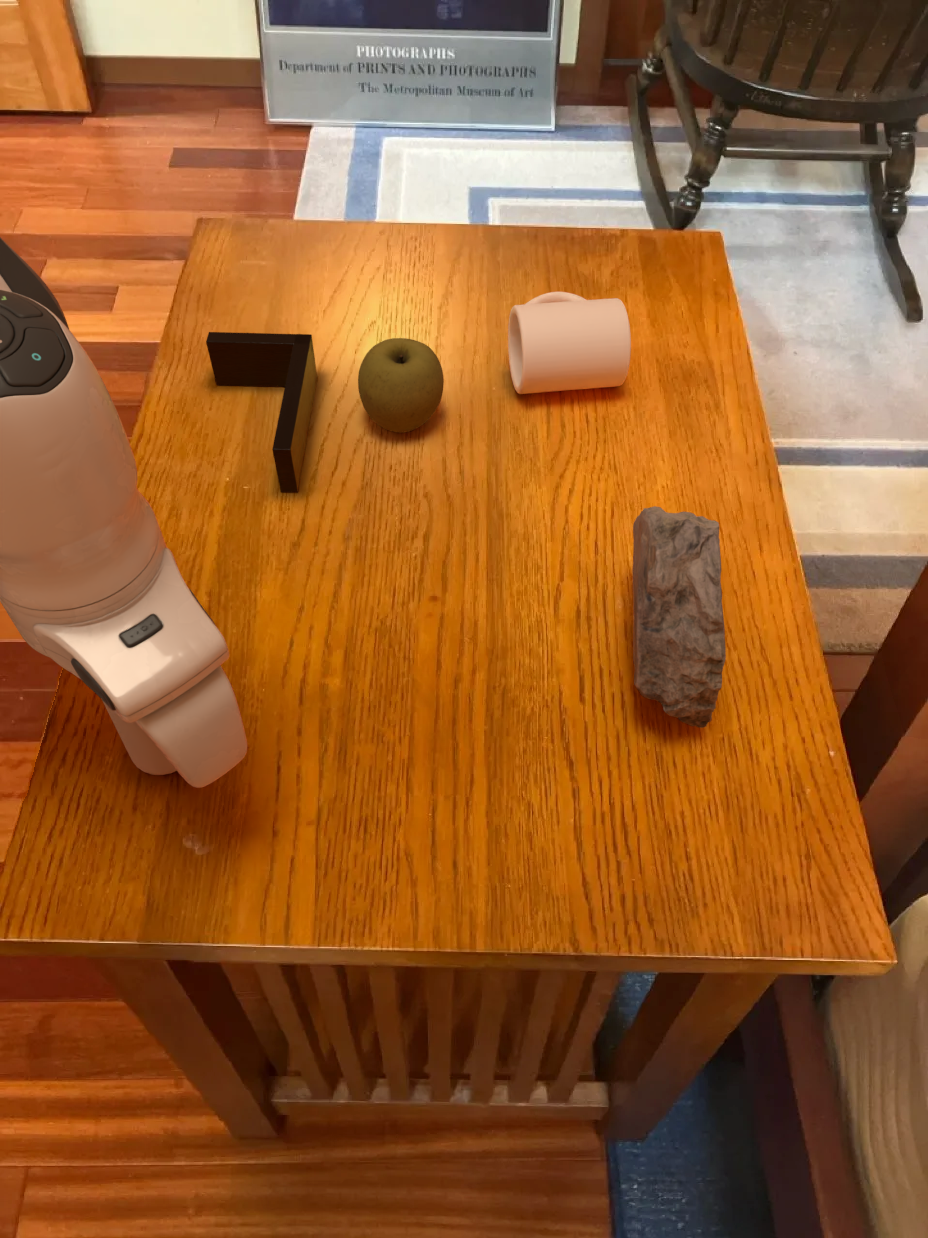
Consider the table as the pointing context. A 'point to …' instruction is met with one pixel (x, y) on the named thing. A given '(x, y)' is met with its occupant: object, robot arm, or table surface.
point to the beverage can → (141, 747)
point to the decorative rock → (678, 613)
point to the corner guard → (273, 366)
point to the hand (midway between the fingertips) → (153, 712)
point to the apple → (400, 384)
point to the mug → (568, 343)
